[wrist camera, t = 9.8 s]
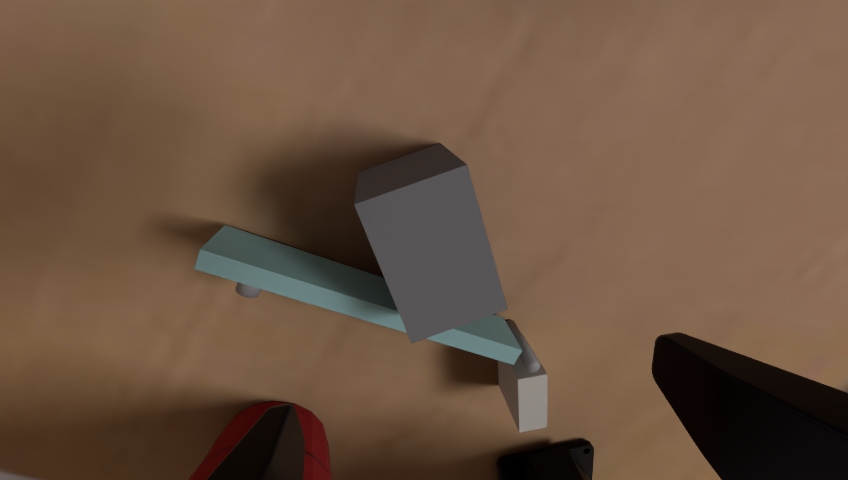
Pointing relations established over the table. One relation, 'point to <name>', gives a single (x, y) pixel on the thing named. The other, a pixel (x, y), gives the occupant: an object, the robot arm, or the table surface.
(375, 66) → the table surface
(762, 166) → the table surface
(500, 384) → the wall
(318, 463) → the plastic cup
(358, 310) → the door
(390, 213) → the gray rectangular block
